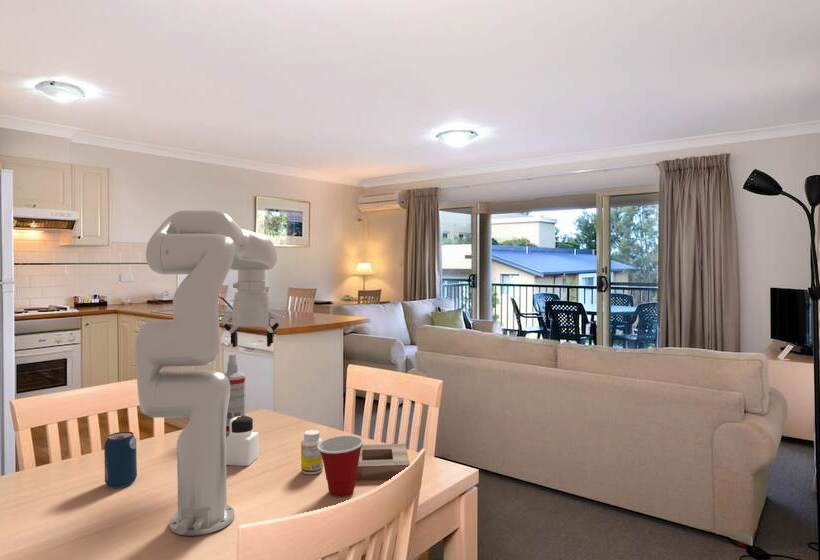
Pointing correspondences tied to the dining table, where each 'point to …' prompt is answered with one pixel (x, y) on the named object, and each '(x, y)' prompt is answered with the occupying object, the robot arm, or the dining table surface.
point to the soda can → (120, 459)
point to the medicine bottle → (242, 442)
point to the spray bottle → (235, 391)
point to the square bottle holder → (381, 461)
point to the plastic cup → (341, 463)
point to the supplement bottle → (311, 453)
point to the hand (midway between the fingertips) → (252, 346)
